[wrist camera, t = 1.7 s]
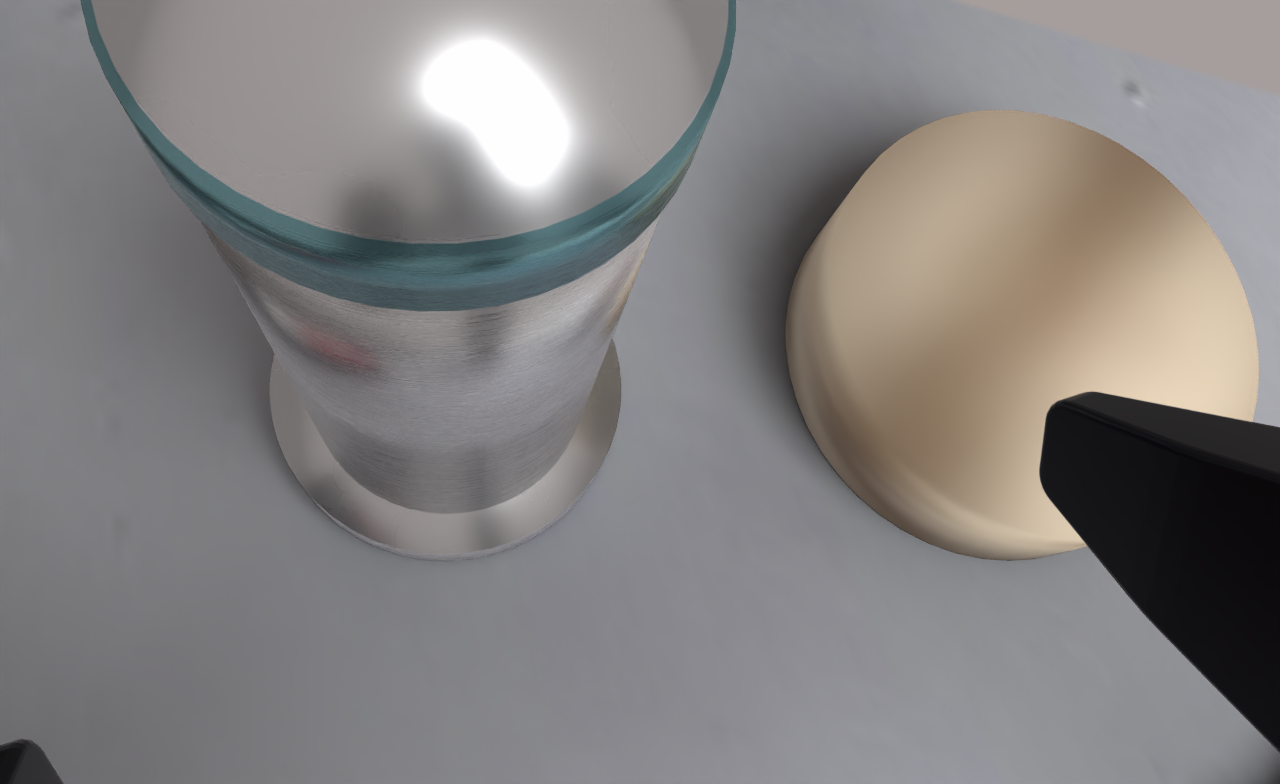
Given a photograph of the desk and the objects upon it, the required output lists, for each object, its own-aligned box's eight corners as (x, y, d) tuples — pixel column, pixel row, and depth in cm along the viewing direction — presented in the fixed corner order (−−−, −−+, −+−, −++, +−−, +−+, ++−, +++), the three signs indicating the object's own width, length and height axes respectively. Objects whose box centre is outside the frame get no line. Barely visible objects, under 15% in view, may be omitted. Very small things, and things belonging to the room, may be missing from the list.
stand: (1232, 366, 24) (1331, 323, 22) (1022, 653, 21) (1107, 647, 18) (945, 109, 25) (1004, 36, 23) (700, 345, 22) (734, 293, 19)
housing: (679, 402, 22) (952, 12, 9) (442, 634, 19) (394, 520, 7) (460, 190, 22) (448, -429, 10) (204, 388, 20) (-217, -109, 8)
